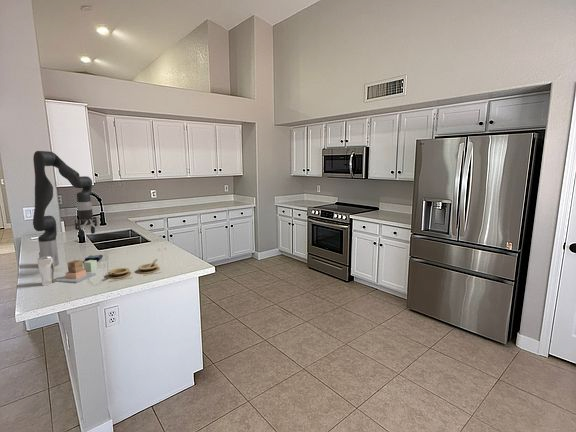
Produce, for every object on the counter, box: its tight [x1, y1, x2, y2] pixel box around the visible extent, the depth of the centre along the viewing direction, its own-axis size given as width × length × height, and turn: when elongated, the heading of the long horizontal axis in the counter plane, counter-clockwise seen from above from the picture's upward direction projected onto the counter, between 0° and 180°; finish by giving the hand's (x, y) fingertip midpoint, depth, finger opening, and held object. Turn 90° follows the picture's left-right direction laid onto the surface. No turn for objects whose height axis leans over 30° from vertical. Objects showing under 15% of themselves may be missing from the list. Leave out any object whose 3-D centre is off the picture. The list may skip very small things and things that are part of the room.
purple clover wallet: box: [84, 254, 104, 262], centre depth 218 cm, size 9×3×11 cm
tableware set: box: [106, 258, 163, 283], centre depth 191 cm, size 30×20×6 cm, turn 123°
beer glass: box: [37, 256, 56, 287], centre depth 172 cm, size 7×7×15 cm
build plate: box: [55, 269, 97, 284], centre depth 182 cm, size 14×14×4 cm
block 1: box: [67, 259, 84, 273], centre depth 181 cm, size 5×5×6 cm
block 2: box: [83, 260, 98, 273], centre depth 196 cm, size 5×5×6 cm
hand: (87, 234), depth 193 cm, fingers open, 8 cm apart
